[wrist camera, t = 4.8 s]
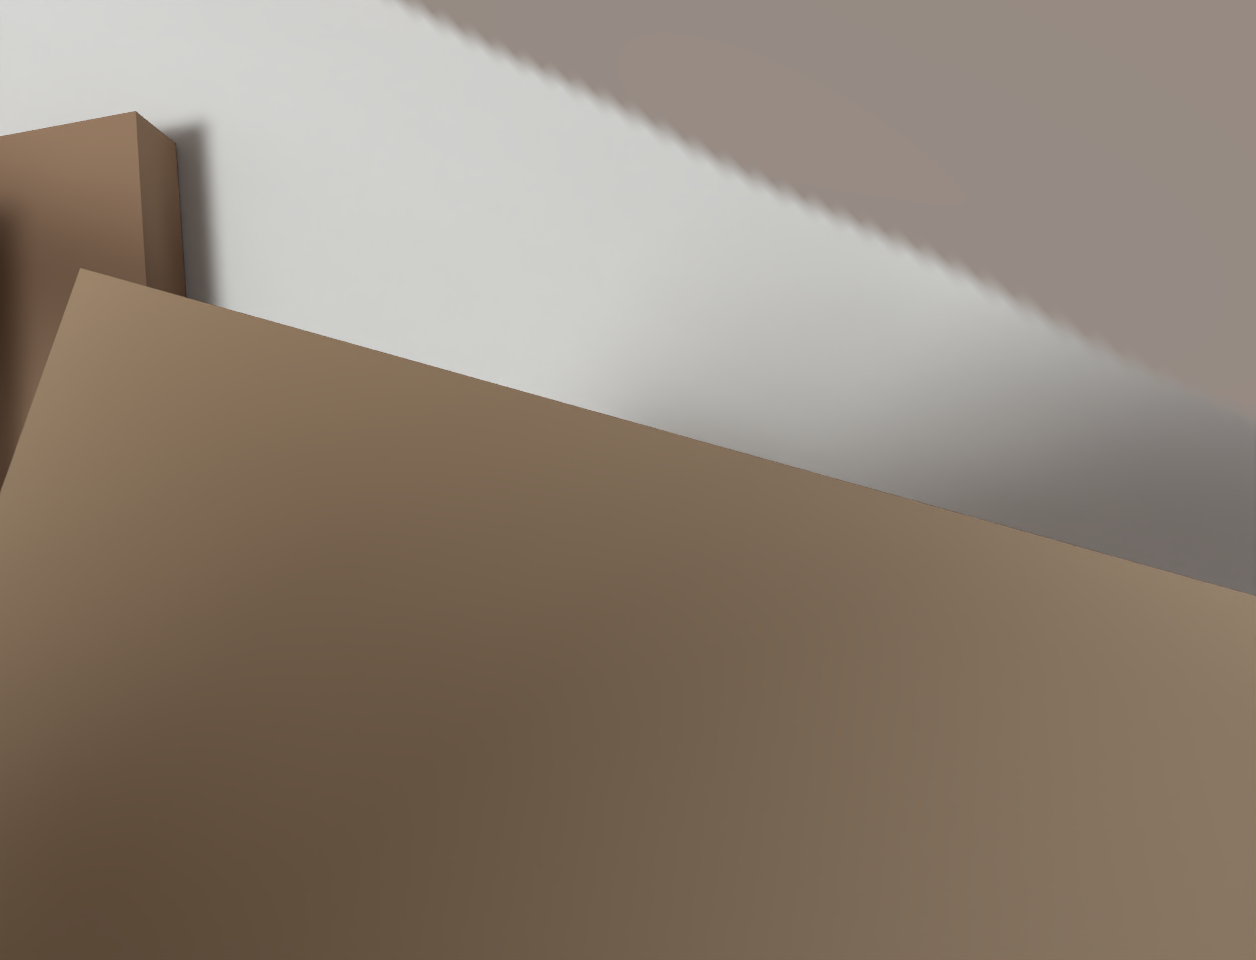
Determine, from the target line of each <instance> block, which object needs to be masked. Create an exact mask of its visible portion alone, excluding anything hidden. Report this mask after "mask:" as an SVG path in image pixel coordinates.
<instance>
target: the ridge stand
mask: <svg viewBox="0 0 1256 960" xmlns="http://www.w3.org/2000/svg"><path fill="white" fill-rule="evenodd" d="M80 268H82V269H86V270H89V271H93V272H96V273H100V274H104V275H107V276H111V277H114V278H118V279H122V280H125V281H129V282H132V283H136V284H139V285H143V286H147V287H150V288H154V289H157V290H161V291H165V292H168V293H172V294H175V295H179V296H182V297H186V290H185V275H184V260H183V245H182V230H181V215H180V201H179V186H178V171H177V156H176V143H174V142H173V141H172V140H171V139H169V138H168V137H167V136H166V135H164V134H163V133H162V132H161V131H160V130H158V129H157V128H156V127H155V126H153V125H152V124H151V123H150V122H148V121H147V120H146V119H145V118H143V117H142V116H141V115H140V114H138V113H137V112H136V111H134V112H129V113H123V114H118V115H113V116H107V117H102V118H96V119H91V120H86V121H80V122H75V123H70V124H64V125H59V126H54V127H48V128H43V129H38V130H32V131H27V132H22V133H16V134H11V135H5V136H0V492H1V489H2V486H3V483H4V480H5V478H6V475H7V472H8V469H9V466H10V464H11V461H12V458H13V455H14V452H15V450H16V447H17V444H18V441H19V438H20V436H21V433H22V430H23V427H24V424H25V422H26V419H27V416H28V413H29V410H30V408H31V405H32V402H33V399H34V396H35V393H36V391H37V388H38V385H39V382H40V379H41V377H42V374H43V371H44V368H45V365H46V363H47V360H48V357H49V354H50V351H51V349H52V346H53V343H54V340H55V337H56V335H57V332H58V329H59V326H60V323H61V321H62V318H63V315H64V312H65V309H66V307H67V304H68V301H69V298H70V295H71V293H72V290H73V287H74V284H75V281H76V279H77V276H78V273H79V270H80Z"/></svg>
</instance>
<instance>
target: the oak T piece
mask: <svg viewBox="0 0 1256 960" xmlns="http://www.w3.org/2000/svg"><path fill="white" fill-rule="evenodd" d="M0 960H1256V596H1254V595H1250V594H1247V593H1243V592H1240V591H1236V590H1232V589H1229V588H1225V587H1222V586H1218V585H1215V584H1211V583H1207V582H1204V581H1200V580H1197V579H1193V578H1189V577H1186V576H1182V575H1179V574H1175V573H1172V572H1168V571H1164V570H1161V569H1157V568H1154V567H1150V566H1146V565H1143V564H1139V563H1136V562H1132V561H1129V560H1125V559H1121V558H1118V557H1114V556H1111V555H1107V554H1103V553H1100V552H1096V551H1093V550H1089V549H1086V548H1082V547H1078V546H1075V545H1071V544H1068V543H1064V542H1060V541H1057V540H1053V539H1050V538H1046V537H1042V536H1039V535H1035V534H1032V533H1028V532H1025V531H1021V530H1017V529H1014V528H1010V527H1007V526H1003V525H999V524H996V523H992V522H989V521H985V520H982V519H978V518H974V517H971V516H967V515H964V514H960V513H956V512H953V511H949V510H946V509H942V508H939V507H935V506H931V505H928V504H924V503H921V502H917V501H914V500H910V499H906V498H903V497H899V496H896V495H892V494H888V493H885V492H881V491H878V490H874V489H871V488H867V487H863V486H860V485H856V484H853V483H849V482H845V481H842V480H838V479H835V478H831V477H828V476H824V475H820V474H817V473H813V472H810V471H806V470H802V469H799V468H795V467H792V466H788V465H784V464H781V463H777V462H774V461H770V460H767V459H763V458H759V457H756V456H752V455H749V454H745V453H741V452H738V451H734V450H731V449H727V448H724V447H720V446H716V445H713V444H709V443H706V442H702V441H698V440H695V439H691V438H688V437H684V436H681V435H677V434H673V433H670V432H666V431H663V430H659V429H655V428H652V427H648V426H645V425H641V424H638V423H634V422H630V421H627V420H623V419H620V418H616V417H612V416H609V415H605V414H602V413H598V412H595V411H591V410H587V409H584V408H580V407H577V406H573V405H569V404H566V403H562V402H559V401H555V400H552V399H548V398H544V397H541V396H537V395H534V394H530V393H526V392H523V391H519V390H516V389H512V388H509V387H505V386H501V385H498V384H494V383H491V382H487V381H483V380H480V379H476V378H473V377H469V376H466V375H462V374H458V373H455V372H451V371H448V370H444V369H440V368H437V367H433V366H430V365H426V364H423V363H419V362H415V361H412V360H408V359H405V358H401V357H397V356H394V355H390V354H387V353H383V352H380V351H376V350H372V349H369V348H365V347H362V346H358V345H354V344H351V343H347V342H344V341H340V340H337V339H333V338H329V337H326V336H322V335H319V334H315V333H311V332H308V331H304V330H301V329H297V328H294V327H290V326H286V325H283V324H279V323H276V322H272V321H268V320H265V319H261V318H258V317H254V316H251V315H247V314H243V313H240V312H236V311H233V310H229V309H225V308H222V307H218V306H215V305H211V304H208V303H204V302H200V301H197V300H193V299H190V298H186V297H182V296H179V295H175V294H172V293H168V292H165V291H161V290H157V289H154V288H150V287H147V286H143V285H139V284H136V283H132V282H129V281H125V280H122V279H118V278H114V277H111V276H107V275H104V274H100V273H96V272H93V271H89V270H86V269H82V268H80V270H79V273H78V276H77V279H76V281H75V284H74V287H73V290H72V293H71V295H70V298H69V301H68V304H67V307H66V309H65V312H64V315H63V318H62V321H61V323H60V326H59V329H58V332H57V335H56V337H55V340H54V343H53V346H52V349H51V351H50V354H49V357H48V360H47V363H46V365H45V368H44V371H43V374H42V377H41V379H40V382H39V385H38V388H37V391H36V393H35V396H34V399H33V402H32V405H31V408H30V410H29V413H28V416H27V419H26V422H25V424H24V427H23V430H22V433H21V436H20V438H19V441H18V444H17V447H16V450H15V452H14V455H13V458H12V461H11V464H10V466H9V469H8V472H7V475H6V478H5V480H4V483H3V486H2V489H1V492H0Z"/></svg>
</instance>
